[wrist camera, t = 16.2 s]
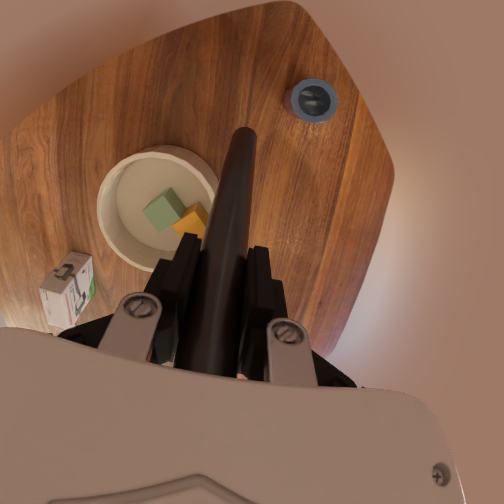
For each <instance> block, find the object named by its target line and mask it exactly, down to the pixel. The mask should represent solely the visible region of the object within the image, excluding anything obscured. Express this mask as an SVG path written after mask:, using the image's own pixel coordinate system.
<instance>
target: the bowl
mask: <svg viewBox="0 0 504 504" xmlns="http://www.w3.org/2000/svg"><path fill="white" fill-rule="evenodd" d="M218 182H219V181H218V179H217V177H216V175H215V173H214V172H213V170H212V169H211V168H210V166H209V165H208V164H207V163H206V162H205V161H204V160H203V159H202V158H201V157H199V156H198V155H196V154H195V153H193V152H191V151H189V150H187V149H184V148H182V147H178V146H173V145H157V146H152V147H148V148H146V149H143V150H141V151H139V152H137V153H135V154H133V155H131V156H129V157H127V158H125V159H123V160H121V161H120V162H119V163H118V164H117V165H115V166H114V167H113V168H112V169H111V170H110V171H109V172H108V174H107V175H106V177H105V179H104V180H103V182H102V184H101V186H100V190H99V193H98V197H97V217H98V221H99V225H100V229H101V231H102V233H103V235H104V237H105V239H106V241H107V243H108V244H109V245H110V247H111V248H112V249H113V250H114V251H115V252H116V254H117V255H118V256H120V257H121V258H122V259H124V260H125V261H126V262H128V263H129V264H131V265H133V266H135V267H137V268H140V269H142V270H144V271H149V272H153V271H154V269H155V267H156V265H157V263H158V261H159V259H160V258H163V259H168V260H172V259H173V257H174V255H175V252H176V250H177V248H178V246H179V243H180V241H181V237H180V236H179V235H178V233H177V232H176V231H175V230H174V228H173V227H172V225H171V226H169V227H168V228H166V229H165V230H163V231H162V232H160V233H159V232H158V231H157V230H156V229H155V227H154V226H153V225H152V224H151V222H150V221H149V220H148V218H147V217H146V216H145V215H144V213H143V212H142V210H143V209H144V208H145V207H146V206H147V205H148V204H149V203H150V201H152V200H153V199H154V198H156V197H157V196H159V195H160V194H161V193H163V192H164V191H166V190H167V189H168V188H170V187H171V188H172V190H173V191H174V192H175V194H176V195H177V196H178V198H179V199H180V200H181V202H182V203H183V204H184V206H185V207H186V209H187V208H189V207H190V206H192V205H193V204H195V203H197V202H198V201H199V202H200V203H201V204H202V206H203V207H204V209H205V210H206V212H207V213H208V214H210V210H211V207H212V203H213V200H214V196H215V193H216V189H217V186H218ZM202 240H203V239H202ZM201 244H202V243H201Z"/></svg>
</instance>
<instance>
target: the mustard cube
mask: <svg viewBox="0 0 504 504" xmlns="http://www.w3.org/2000/svg"><path fill="white" fill-rule="evenodd" d="M208 218H209V214H208V213H207V212H206V210H205V209H204V207H203V206H202V204H201V203H200V202H199V201H198V202H197V203H195V204H193V205H192V206H190V207H189V208H187V209H186V210H185V212H184V214H183V215H182V217H181V219H180V220H178V221H177V222H175V223H174V224H172V227H173V228H174V230H175V231H176V232H177V233H178V235H179V236H180V237H181V239H182V237H183V235H184V232H188V233H193V234H198V237H197V238H201V239H203V236H204V232H205V229H206V225H207V221H208Z"/></svg>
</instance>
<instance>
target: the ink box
mask: <svg viewBox="0 0 504 504" xmlns="http://www.w3.org/2000/svg"><path fill="white" fill-rule="evenodd" d="M39 291H40V296H41V300H42V304H43V309H44V313H45V317H46V321H47V323H48V324H49V325H51V326H54V327H57V328H60V329H63V330H66V329H69V328H72V327H73V325H74V324H75V322H76V321H77V319H78V317H79V316H80V314H81V313H82V311H83V310H84V308H85V306H86V305H87V303H88V302H89V300H90V299H91V297H92V296H93V295H94V293H95V286H94V277H93V265H92V256H89V255H86V254H82V253H77V252H73V251H72V252H70V253H69V254H68V256H67V257H66V258H65V259H64V260H63V261H62V262H61V263H60V264H59V265H58V266H57V267H56V268H55V270H54V271H53V272H52V273H51V274H50V275H49V276H48V277H47V278H46V279H45V281H44V282H43V283H42V284H41V285H40V286H39Z"/></svg>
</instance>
